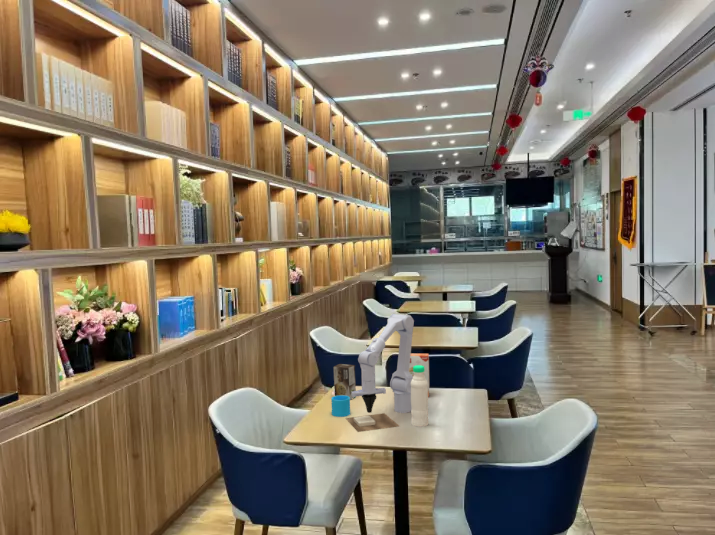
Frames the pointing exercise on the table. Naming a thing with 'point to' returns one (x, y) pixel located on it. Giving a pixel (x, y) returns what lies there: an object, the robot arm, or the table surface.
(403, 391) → the robot arm
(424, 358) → the cracker box
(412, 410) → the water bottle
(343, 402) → the mug
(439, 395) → the table surface
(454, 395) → the table surface
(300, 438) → the table surface
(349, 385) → the coffee box
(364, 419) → the tile
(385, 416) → the board
